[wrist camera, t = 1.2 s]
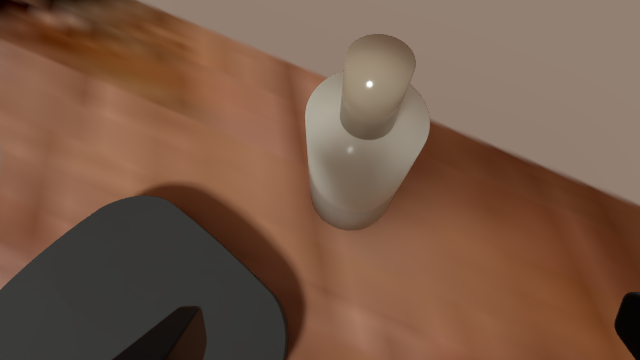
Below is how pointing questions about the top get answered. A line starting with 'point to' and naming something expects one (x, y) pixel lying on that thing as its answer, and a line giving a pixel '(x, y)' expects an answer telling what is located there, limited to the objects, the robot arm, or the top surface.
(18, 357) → the media streaming box
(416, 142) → the bottle
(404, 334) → the top surface
